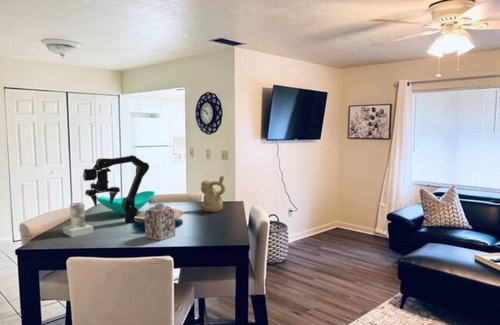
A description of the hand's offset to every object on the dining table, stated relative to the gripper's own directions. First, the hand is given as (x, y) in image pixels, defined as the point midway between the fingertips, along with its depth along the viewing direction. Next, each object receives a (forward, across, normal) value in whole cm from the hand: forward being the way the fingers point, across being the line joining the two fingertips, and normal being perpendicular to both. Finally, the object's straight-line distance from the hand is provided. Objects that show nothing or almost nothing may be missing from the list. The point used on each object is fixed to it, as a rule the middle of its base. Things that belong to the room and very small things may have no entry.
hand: (103, 205), depth 220 cm
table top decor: (+13, -27, -23) cm, 37 cm away
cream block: (+10, +16, +2) cm, 19 cm away
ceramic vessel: (+12, -73, +15) cm, 76 cm away
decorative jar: (+13, -11, +44) cm, 47 cm away
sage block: (+14, +16, +2) cm, 21 cm away
